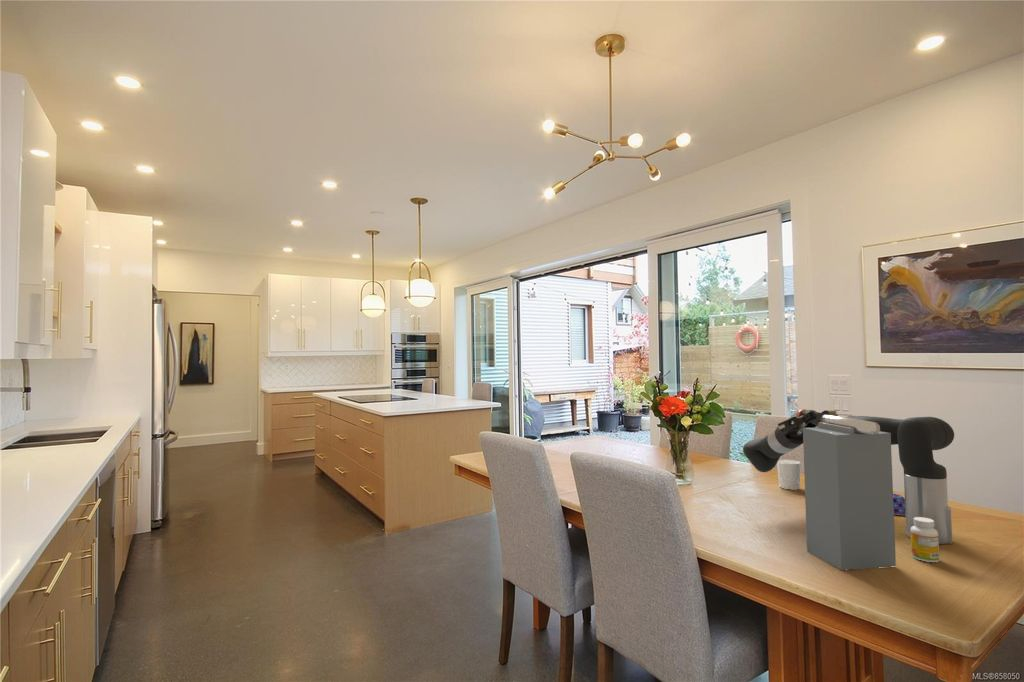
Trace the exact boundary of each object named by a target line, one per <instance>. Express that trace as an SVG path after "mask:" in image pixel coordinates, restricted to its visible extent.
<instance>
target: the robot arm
mask: <svg viewBox="0 0 1024 682" xmlns="http://www.w3.org/2000/svg"><path fill="white" fill-rule="evenodd" d="M807 410H808V411H810V412H808V413H807V414H805V415H804V416H800V417H799V418H797V417H796V414H797V412H795V413H794V414H792V415H791V416H790V417H789V418H788V419H785V420H784V421H780V422H778V423H777V425H778V426H776V427H775V428H774V429H772V430H771V431H770V433H769V434H767V435H765V437H761V438H755V439H751V440H749V441H747V442H746V443H744V444H743V448H742V452H743V454H744V456H745V457H746V458H747V459H748V460H749V462H750V463H751V464H752V466H753V467H754V468H755V469H756V470H757V471H758V472H760V473H768V472H770V471H771V470H773V469H774V468H775V467H776V466H777V462H778V460H780V458H781V457H782V456H783V455H785V454H787V453H789V452H792V451H793V450H795V449H796V448H798V447H800V446H801V445H803V428H818V425H815V424H810V422H811V421H813V420H814V419H816V415H815V412H817V411H816V410H814V409H807ZM828 410H829V409H827V410H823V411H822V412H821V413H825V414H828V415H830V414H829V412H828ZM845 417H846V418H852V419H858V420H864V421H871V422H876V423H878V424H879V426H880V431H881V432H887V433H891V446H894V445H898V447H897V448H898V456H899V462H900V464H901V465H902V470H903V484H904V487H903V488H904V491H903V492H904V499H905V515H904V516H905V534H906V536H907V537H908V538H910V539H911V532H910V529H911V527H912V526H915V524H914V518H915V517H923V518H929V519H932V520H933V521H934V527H933V529H935V530H936V531H937V532H938V540H939V545H944V544H950V545H951V544H953V522H952V508H951V507H950V506H949V499H948V498H949V497H948V478H947V477H948V472H947V469H946V467H945V466H944V465H942V464H939V463H937V462H936V461H935V459H934V458H935V457H934V453H933V451H939V450H942V449H945V448H947V447H948V446H950V445H951V444H953V441H954V439H955V431H954V429H953V427H952V426H951V425H950V424H949V423H948V422H946V421H945V420H943V419H940V418H938V417H935V416H916V417H914V416H913V417H907V418H905V419H900V418H899V419H897V418H889V417H880V416H869V415H868V416H867V415H850V416H845Z"/></svg>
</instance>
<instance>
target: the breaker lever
mask: <svg viewBox="0 0 1024 682" xmlns="http://www.w3.org/2000/svg"><path fill="white" fill-rule="evenodd" d="M808 410H809V409H806V408H805V409H803V408H801V409H799V410H798V411H797V412H796V413H797V414H796V417H797V418H799V417H800V416H804V415H805V414H807V413H808V412H810V411H808ZM815 415H816V419H814V420H813V421H811V422H810V424H815V425H818V422H823V423H828V424H834V425H839V426H844V427H850V428H854V431H856V432H861V433H866V434H871V435H876V434H878V433H879V431H880V426H879V424H878V423H876V422H871V421H864V420H858V419H852V418H846V417H847V416H840V415H838V416H833V415H828V414H825V413H822V412H818V411H816V412H815Z"/></svg>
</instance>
